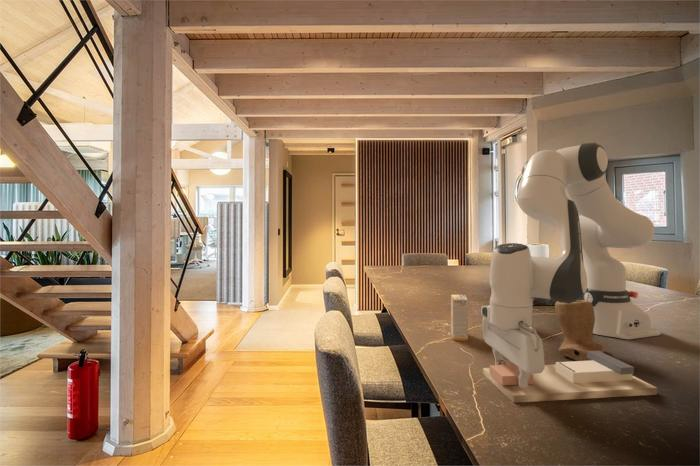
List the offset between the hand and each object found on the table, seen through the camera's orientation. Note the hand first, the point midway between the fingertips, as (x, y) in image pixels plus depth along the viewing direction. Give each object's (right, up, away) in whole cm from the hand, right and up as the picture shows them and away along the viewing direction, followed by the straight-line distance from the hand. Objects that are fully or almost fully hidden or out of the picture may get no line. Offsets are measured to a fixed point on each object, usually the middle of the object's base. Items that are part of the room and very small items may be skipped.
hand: (510, 376), depth 82 cm
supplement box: (-1, -1, +35) cm, 35 cm away
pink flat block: (0, 0, 0) cm, 1 cm away
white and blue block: (+20, 0, +2) cm, 20 cm away
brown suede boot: (+27, -2, +19) cm, 34 cm away
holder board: (+13, -2, +1) cm, 13 cm away
